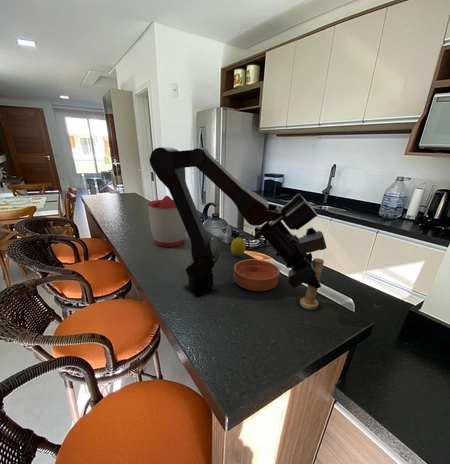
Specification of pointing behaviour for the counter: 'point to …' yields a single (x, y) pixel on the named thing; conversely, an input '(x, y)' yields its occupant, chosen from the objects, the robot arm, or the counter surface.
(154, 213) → the citrus juicer
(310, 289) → the wooden pestle
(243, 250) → the lemon
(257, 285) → the bowl
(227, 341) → the counter surface
